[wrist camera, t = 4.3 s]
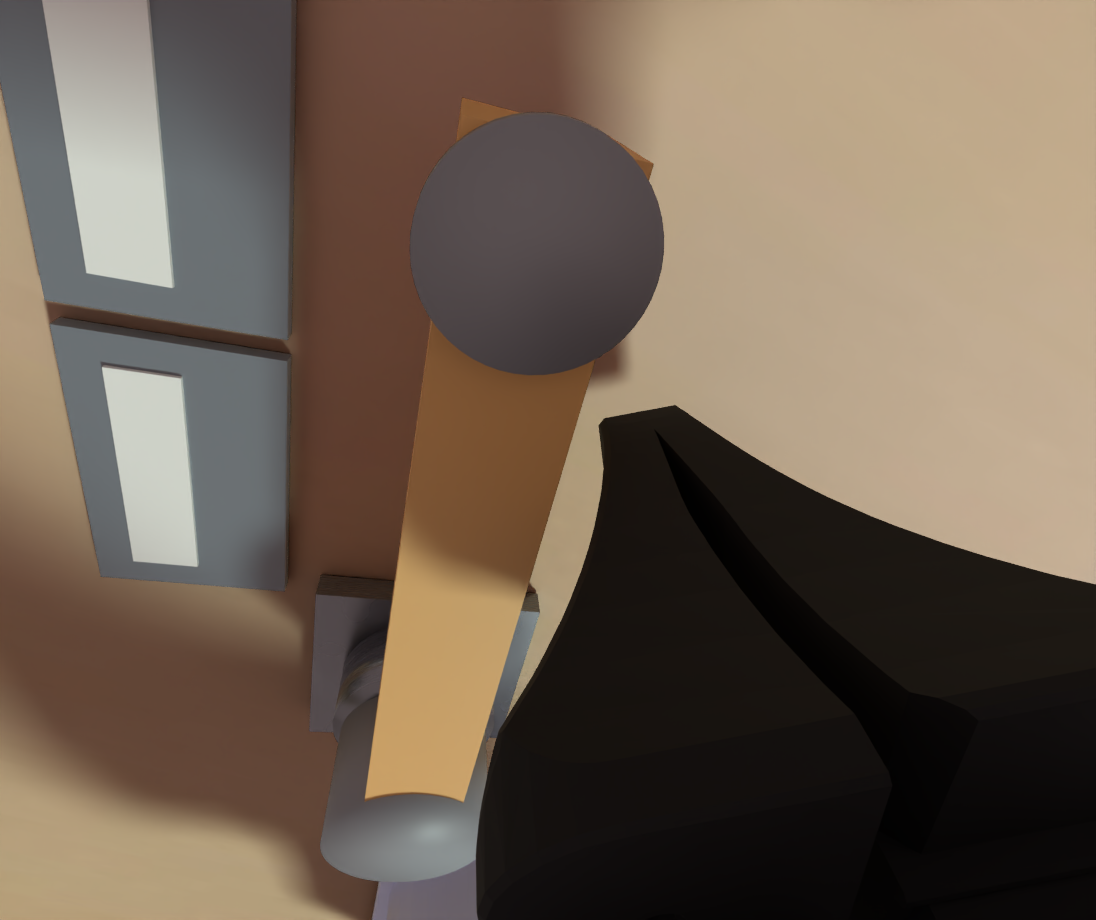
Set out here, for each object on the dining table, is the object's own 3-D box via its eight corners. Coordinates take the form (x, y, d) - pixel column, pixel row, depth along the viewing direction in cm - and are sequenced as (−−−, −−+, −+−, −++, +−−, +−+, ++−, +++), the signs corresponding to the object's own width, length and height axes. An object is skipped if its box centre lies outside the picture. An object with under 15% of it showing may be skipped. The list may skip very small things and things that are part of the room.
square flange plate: (498, 718, 18) (501, 788, 16) (313, 711, 16) (297, 785, 15) (537, 593, 15) (546, 661, 13) (320, 574, 14) (301, 646, 12)
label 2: (287, 581, 14) (283, 594, 14) (107, 566, 13) (98, 579, 13) (291, 353, 11) (285, 362, 11) (59, 317, 10) (46, 325, 10)
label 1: (291, 333, 11) (286, 342, 10) (55, 293, 10) (41, 301, 10) (297, -78, 8) (290, -84, 7) (-37, -180, 7) (-60, -191, 7)
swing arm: (473, 775, 15) (474, 891, 13) (336, 773, 14) (314, 894, 12) (666, 132, 8) (741, 163, 6) (402, 60, 7) (376, 68, 5)
